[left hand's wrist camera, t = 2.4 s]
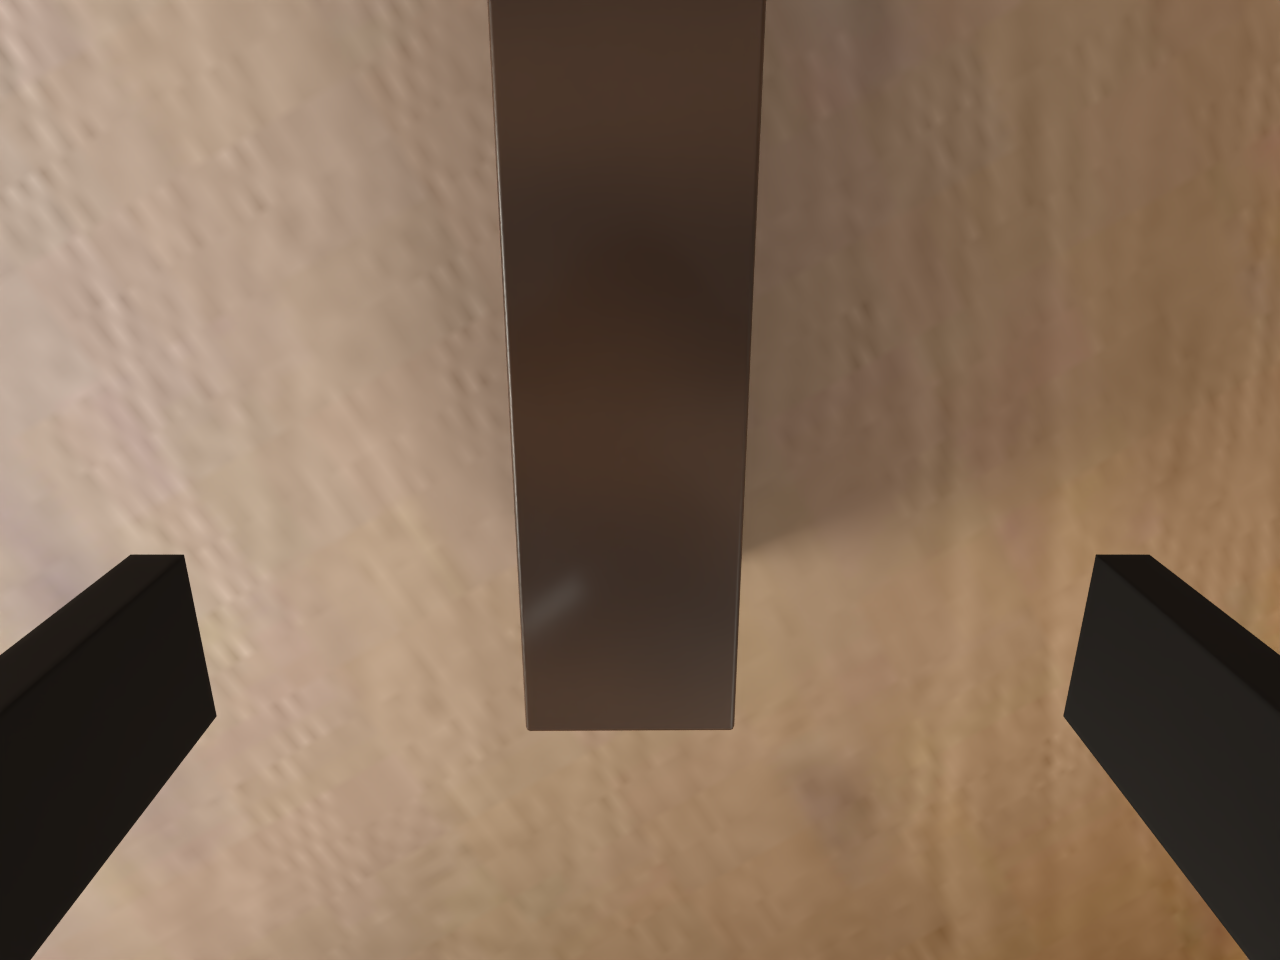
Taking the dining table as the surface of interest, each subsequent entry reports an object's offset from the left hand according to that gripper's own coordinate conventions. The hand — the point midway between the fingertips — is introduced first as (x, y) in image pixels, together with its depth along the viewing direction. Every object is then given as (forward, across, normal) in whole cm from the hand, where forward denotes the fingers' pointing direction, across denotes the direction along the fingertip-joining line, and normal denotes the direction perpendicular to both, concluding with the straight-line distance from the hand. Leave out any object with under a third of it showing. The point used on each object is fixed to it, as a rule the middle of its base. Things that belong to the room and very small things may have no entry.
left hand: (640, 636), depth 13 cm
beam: (+12, 0, -9) cm, 15 cm away
